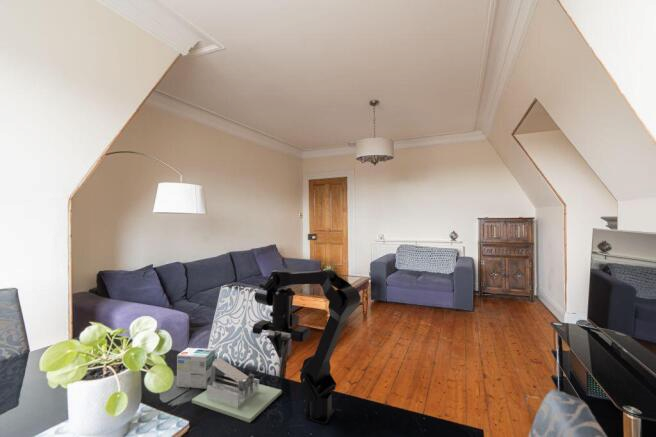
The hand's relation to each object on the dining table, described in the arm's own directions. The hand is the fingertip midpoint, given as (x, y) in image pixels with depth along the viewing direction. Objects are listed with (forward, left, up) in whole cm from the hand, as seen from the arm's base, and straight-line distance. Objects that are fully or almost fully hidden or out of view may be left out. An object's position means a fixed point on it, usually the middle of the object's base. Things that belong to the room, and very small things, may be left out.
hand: (280, 357), depth 96 cm
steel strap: (+13, +8, -5) cm, 16 cm away
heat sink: (+13, +8, -11) cm, 19 cm away
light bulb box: (+30, +6, -12) cm, 33 cm away
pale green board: (+11, +7, -12) cm, 18 cm away
